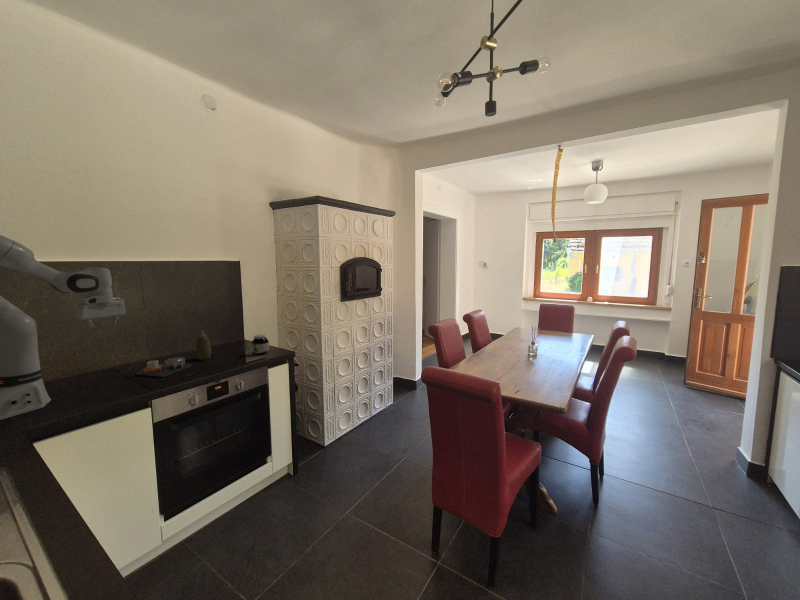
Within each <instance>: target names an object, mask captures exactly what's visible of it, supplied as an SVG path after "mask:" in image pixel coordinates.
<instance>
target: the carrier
mask: <svg viewBox="0 0 800 600" xmlns="http://www.w3.org/2000/svg"><path fill="white" fill-rule="evenodd" d="M150 361H151V363H152V362H155V361H154V360H150ZM159 365H162V366H164V369H162V370H161V371H156V372H147V373H145V372H143V370H139V371H137V372H136V376H141V375H145V376H144V377H152V376H156V377H155V378H163V377H164V378H165V376H166V377H169V376H171V375H174V374H176V373H175V372H177V373H179V372H182V371H184V370H183V369H185V370H187V369H189V367H190V368H192V367H191V366H192V364H191V363H186V357H183V356H180V357H179V356H175V357H171V358H167V359H165V360H164V362H163V363H160V364H159ZM186 368H187V369H186ZM181 370H182V371H181ZM178 371H179V372H178ZM173 373H174V374H173ZM170 374H171V375H170ZM168 375H169V376H168Z"/></svg>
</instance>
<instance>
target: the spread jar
mask: <svg viewBox="0 0 800 600" xmlns="http://www.w3.org/2000/svg"><path fill="white" fill-rule="evenodd" d="M269 350H270V343H269V340H268V338H267V337H266V334H262V333H261V334H255V335H254V336H253V339H252V341H251V343H249V344H248V345H247V348H246V356H247V355H248V356H250V355H252V354H254V355H256V354H257V355H259V356H260V355H265V354H267V353H268V352H269Z"/></svg>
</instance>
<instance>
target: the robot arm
mask: <svg viewBox="0 0 800 600" xmlns="http://www.w3.org/2000/svg"><path fill="white" fill-rule="evenodd" d="M0 266H1V267H4V268H6V269H10V270H15V271H18V272H23V273H26V274H28V275H30V276H32V277H35V278H37V279H39V280H41V281H44V282H46V283H48V285H50V286H51V287H52V288H53V289H54V290H55V291H57V292H60V293H64V294H72V293H73V294H83V293H88V295H85V296H83V297H80V298H77V299H76V301H75V302H76V304H77V305H76V306H75V318H76V319H77V320H81V321H83V320H85V321H86V323H87V324H88V326H89V328H95V327H96V323H93V322H92V321H93V319H97V318H98V319H99V318H107V317H112V320H111V321H110V325H117V320H118V319H119V316H122V315H123V316H124V315H125V314H126V313H127V310H126V305H125V300H124V298H122V297H121V296H119V297H114V293H113V289H112V285H113V279H112V274H111V271H110V269H109V268H108V267H105V266H101V265H100V266H99V265H89V266H88V267H86V268H84V269H82V270H78V271H76V272H69V271H60V270H56V269H55V268H52V267H50V266H48V265H45V264H44V263H41V262H40V261H38V260H37V259H36V258H35V254H34V252H33V251H32V250H31V249H30V248H29V247H27V246H25V245H23V244H22V243H19V242H17V241H16V240H13V239H11V238H8V237H6V236H3V235H1V234H0ZM38 339H39V338H38V329H37V322H36V321H35V319H34V318H33V317H31V316H30V315H29V314H27V313H26V312H24V311H23V310H22V309H20V308H19V307H17V306H16V305H14V304H13V303H12V302H10V301H8V300H7V299H6V298H4V297H3V296H1V295H0V421H1V420H5V419H9V418H12V417H15V416H18V415H21V414H25V413H29V412H32V411H36V410H39V409H42V408H44V407H46V405H47V404H49V403H50V402H51V401H52V399H51V397H50V396H49V394H48V392H47V390H46V386H45V383H44V370H43V368H41V363H40V355H39V342H38V341H39V340H38Z"/></svg>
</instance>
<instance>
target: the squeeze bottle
mask: <svg viewBox="0 0 800 600" xmlns="http://www.w3.org/2000/svg"><path fill="white" fill-rule="evenodd" d="M199 332H200V334H199V335H197V339H196V341H195V355H196V357H197V359H198V360H201V361H203V360H204V359H205V360H208V359H210V358H211V354H212V349H211V343H210V338H208V335H207V334H205V331H204V329H202V328H201V329H200V331H199Z"/></svg>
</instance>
